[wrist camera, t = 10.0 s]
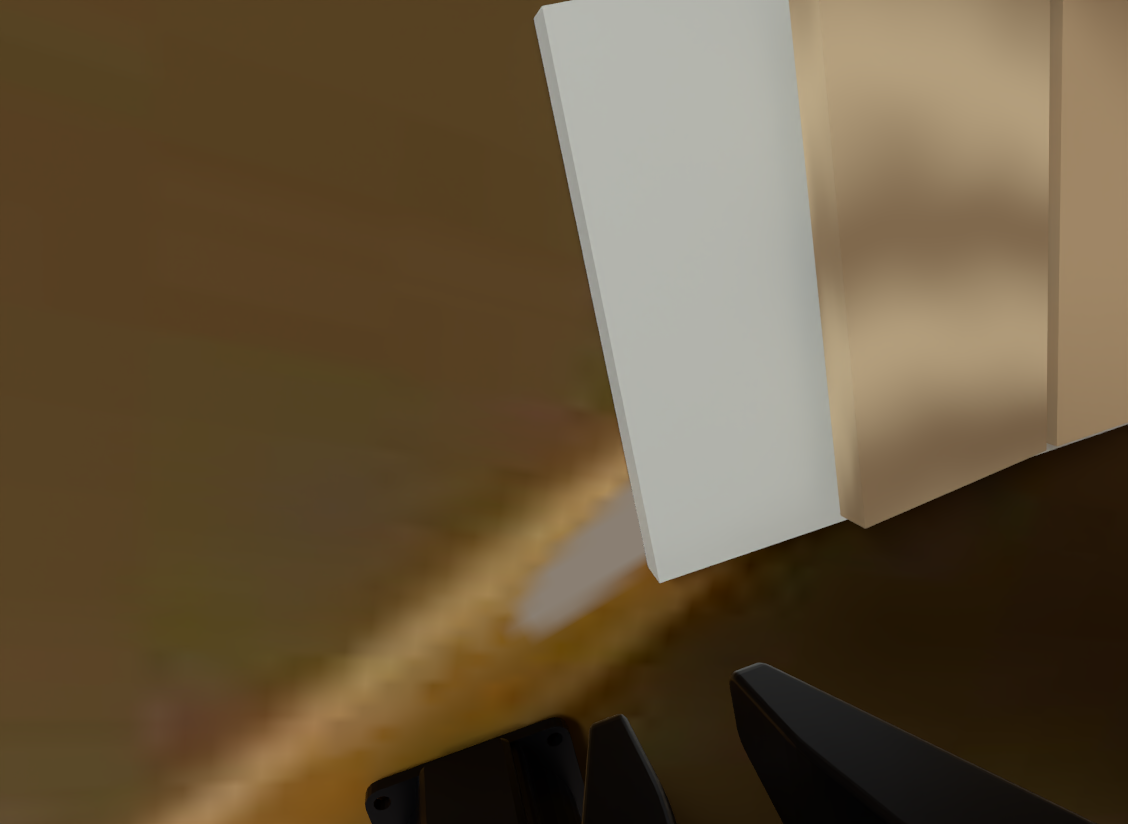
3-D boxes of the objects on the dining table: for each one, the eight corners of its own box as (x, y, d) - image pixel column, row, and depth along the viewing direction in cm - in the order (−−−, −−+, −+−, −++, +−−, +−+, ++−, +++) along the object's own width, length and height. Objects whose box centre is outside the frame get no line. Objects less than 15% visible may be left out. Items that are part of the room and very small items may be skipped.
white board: (1166, 393, 24) (1231, 408, 22) (648, 567, 21) (672, 601, 19) (1201, -112, 19) (1286, -147, 18) (533, 18, 16) (551, -8, 14)
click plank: (1016, 441, 22) (1046, 450, 21) (840, 515, 20) (865, 528, 19) (1012, -51, 18) (1051, -67, 17) (787, -13, 16) (816, -28, 15)
